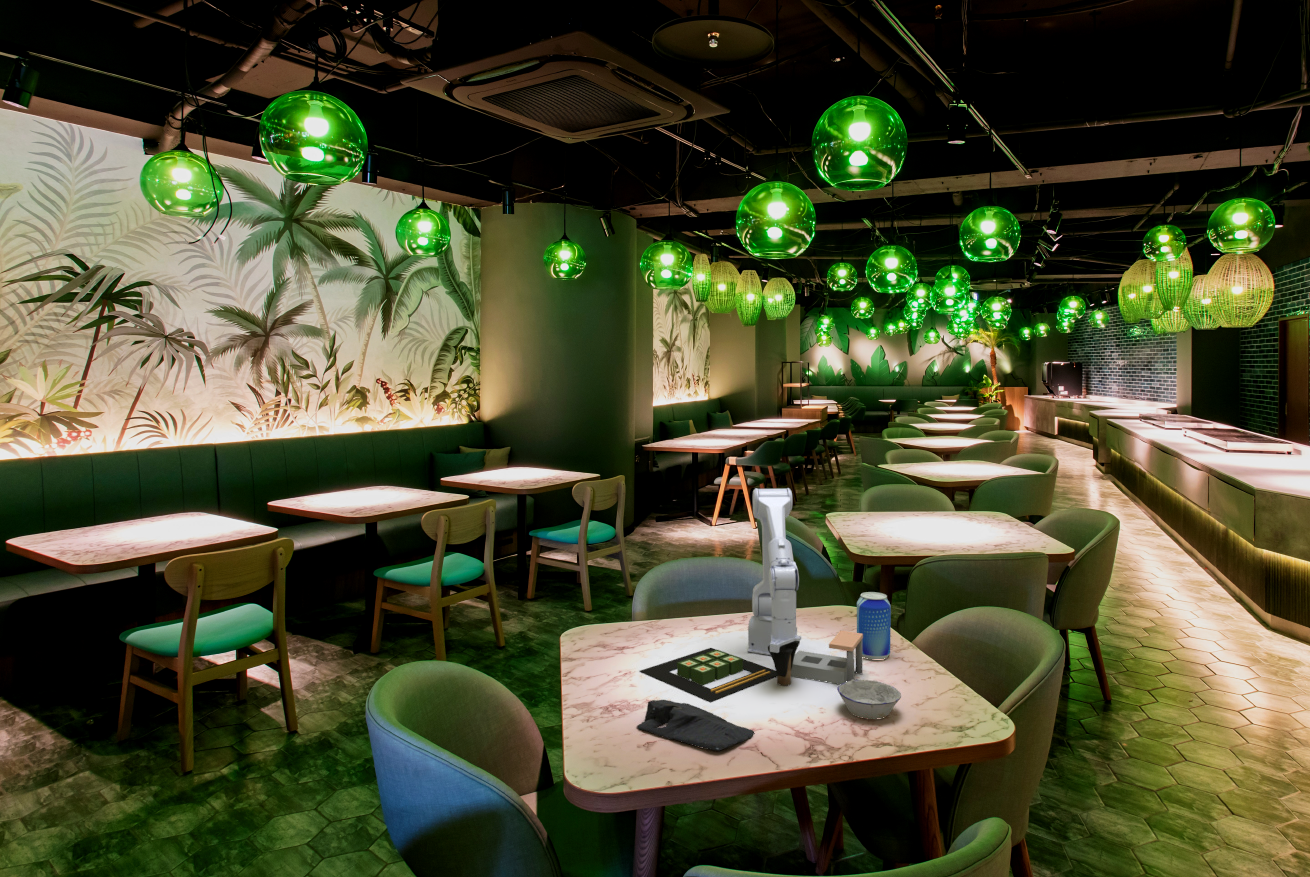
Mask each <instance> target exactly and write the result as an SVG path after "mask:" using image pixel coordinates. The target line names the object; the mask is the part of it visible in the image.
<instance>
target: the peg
mask: <svg viewBox="0 0 1310 877" xmlns="http://www.w3.org/2000/svg"><path fill="white" fill-rule="evenodd" d="M776 678H777V680H776V682H777V685H779V686H783V687H787V686H788V685H789V686H791V685H792V676H791V655H790V658H789V662H788V670H787V675H786V677H782V676H777V677H776Z"/></svg>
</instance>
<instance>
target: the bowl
mask: <svg viewBox="0 0 1310 877" xmlns="http://www.w3.org/2000/svg"><path fill="white" fill-rule="evenodd" d="M836 689H837V692H838V694H839V696H840V697H841V699H842V701H843V703H844V704H845V706H846V708H847V710H848V712H849V713H850V712H851V713H852V714H851V713H850V714H851V715H853V714H854V715H856V716H859V717H863V718H868V719H877V718H883V717H885V716H887V715H888V716H889V715H890V713H891V712H892V710H893V709H894V707H895V706H896V704H897V703H898V702H899V701H900V700H901V698H902V693H901V692H900V690H898V689H897V688H895V687H894V686H892V685H890V684H887V683H885V682H881V681H877V680H868V679H857V678H856V679H854V680H853V679H852V680H851V681H847V682H845V683H843V684H841V685H840V684H838V686H837V688H836ZM854 715H853V716H854ZM856 716H855V717H856ZM888 716H887V717H888ZM859 717H858V718H859ZM885 718H886V717H885ZM868 719H867V720H868ZM883 719H884V718H883Z"/></svg>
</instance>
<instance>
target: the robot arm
mask: <svg viewBox="0 0 1310 877" xmlns="http://www.w3.org/2000/svg"><path fill="white" fill-rule="evenodd" d="M792 509H793V493H792V490H791V488H789V487H787V488H756V487H755V488H754V489H753V491H752V514H753V518H755V519H757V520H759V521H760V524H761V535H762V538H761V539H762V540H761V541H762V544H761V546H762V548H761V550H762V580H761V581H759V583H757V584H756V585H755V586H753V589H752V596H751V597H752V598H751V607H752V609H751V610H752V614H753V615H752V616H750V618H749V621H748V626H747V627H748V628H747V631H748V632H747V638H748V640H747V641H748V644H747V646H748V648H747V650H746V652H748V653H754V654H758V655H759V654H760V655H766V656H771V658H772V662H773V664H774V670H776V674H777V676H782V677H786V675H787V670H788V662H789V658H790V655H791V669H792V665H793V660H794V656H795V654H796V653H797V650H798V647H799V645H800V641H801V640H802V636H801V635H798V627H797V591H798V590H799V585H800V584H799V583H800V575H799V569H798V566H797V563H796V561H794V555H793V548H792V543H791V541H789V540H788V539H786V538H787V537H786V536H787V535H786V534H787V533H786V518H788V517H789V515H790V513H791V511H792Z"/></svg>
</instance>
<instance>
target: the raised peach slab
mask: <svg viewBox="0 0 1310 877" xmlns="http://www.w3.org/2000/svg"><path fill="white" fill-rule="evenodd" d="M862 638H863V634H862V633H857V632H852V631H847V630H846V631H845V630H840V631H839V632H838V633H837V634H836V635H835V636H834V637H833V638H832V640H831V641H830V642H829V643H828V648H829V649H831V650H838V651H846V658H847V681H851V680H852V679H853V680H855V677H854V676H855V673H856V672H857V673H856V674H858V673H862V674H863V658H862ZM854 650H855V652H854ZM854 653H855V654H854ZM854 655H855V656H854ZM854 657H855V658H854Z"/></svg>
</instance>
